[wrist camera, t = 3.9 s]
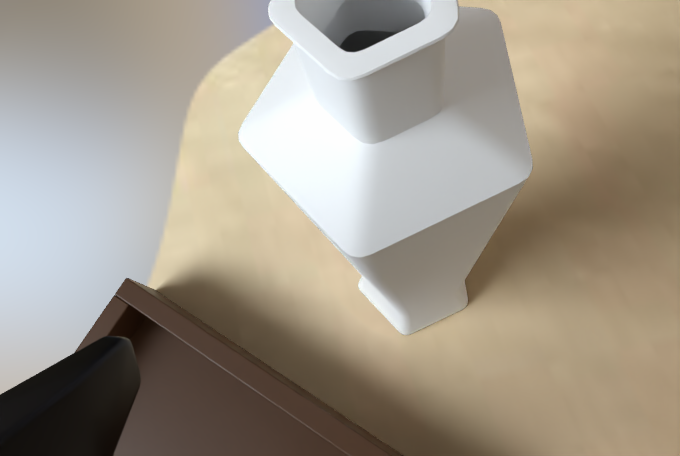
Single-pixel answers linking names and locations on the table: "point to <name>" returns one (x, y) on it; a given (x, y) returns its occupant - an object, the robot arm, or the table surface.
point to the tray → (215, 391)
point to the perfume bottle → (395, 141)
